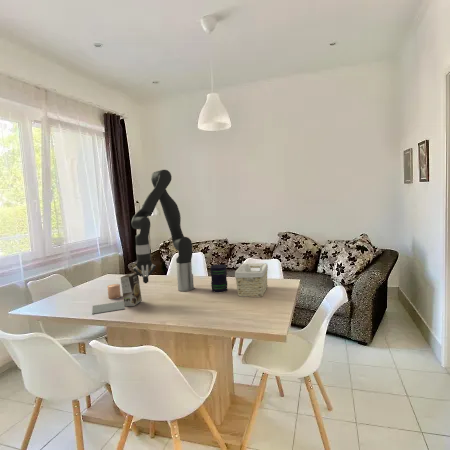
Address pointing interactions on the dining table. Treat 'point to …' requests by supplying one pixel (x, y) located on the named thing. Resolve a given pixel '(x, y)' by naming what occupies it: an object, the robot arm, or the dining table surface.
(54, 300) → the dining table surface
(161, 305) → the dining table surface
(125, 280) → the coffee box
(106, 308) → the mat
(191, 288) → the robot arm
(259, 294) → the storage basket
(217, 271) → the storage jar
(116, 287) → the peach rounded knob
